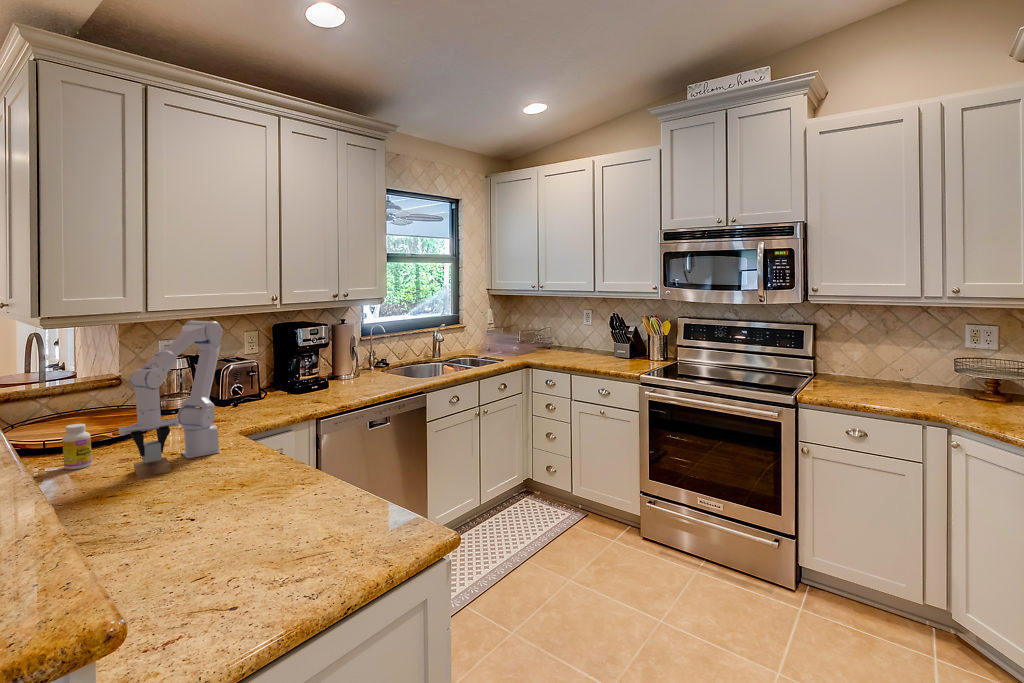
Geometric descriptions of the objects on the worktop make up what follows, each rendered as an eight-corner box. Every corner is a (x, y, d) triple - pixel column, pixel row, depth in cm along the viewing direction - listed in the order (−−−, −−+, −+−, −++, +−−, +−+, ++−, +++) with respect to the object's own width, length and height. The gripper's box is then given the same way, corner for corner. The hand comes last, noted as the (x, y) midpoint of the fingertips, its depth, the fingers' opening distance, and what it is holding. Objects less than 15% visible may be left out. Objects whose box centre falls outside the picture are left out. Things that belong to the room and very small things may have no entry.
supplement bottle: (76, 471, 156) (73, 429, 155) (58, 469, 157) (54, 427, 156) (98, 463, 163) (95, 423, 161) (80, 462, 164) (77, 422, 163)
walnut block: (166, 466, 162) (165, 457, 162) (171, 473, 156) (170, 463, 156) (134, 472, 157) (133, 462, 156) (138, 480, 151) (137, 470, 150)
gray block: (157, 456, 159) (156, 440, 158) (161, 459, 156) (160, 443, 155) (141, 459, 156) (140, 443, 155) (145, 462, 153) (144, 446, 152)
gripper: (172, 402, 162) (175, 445, 164) (115, 410, 151) (118, 456, 153) (179, 406, 157) (182, 450, 159) (121, 415, 147) (124, 462, 148)
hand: (151, 453), depth 156 cm, fingers closed on gray block, 4 cm apart
